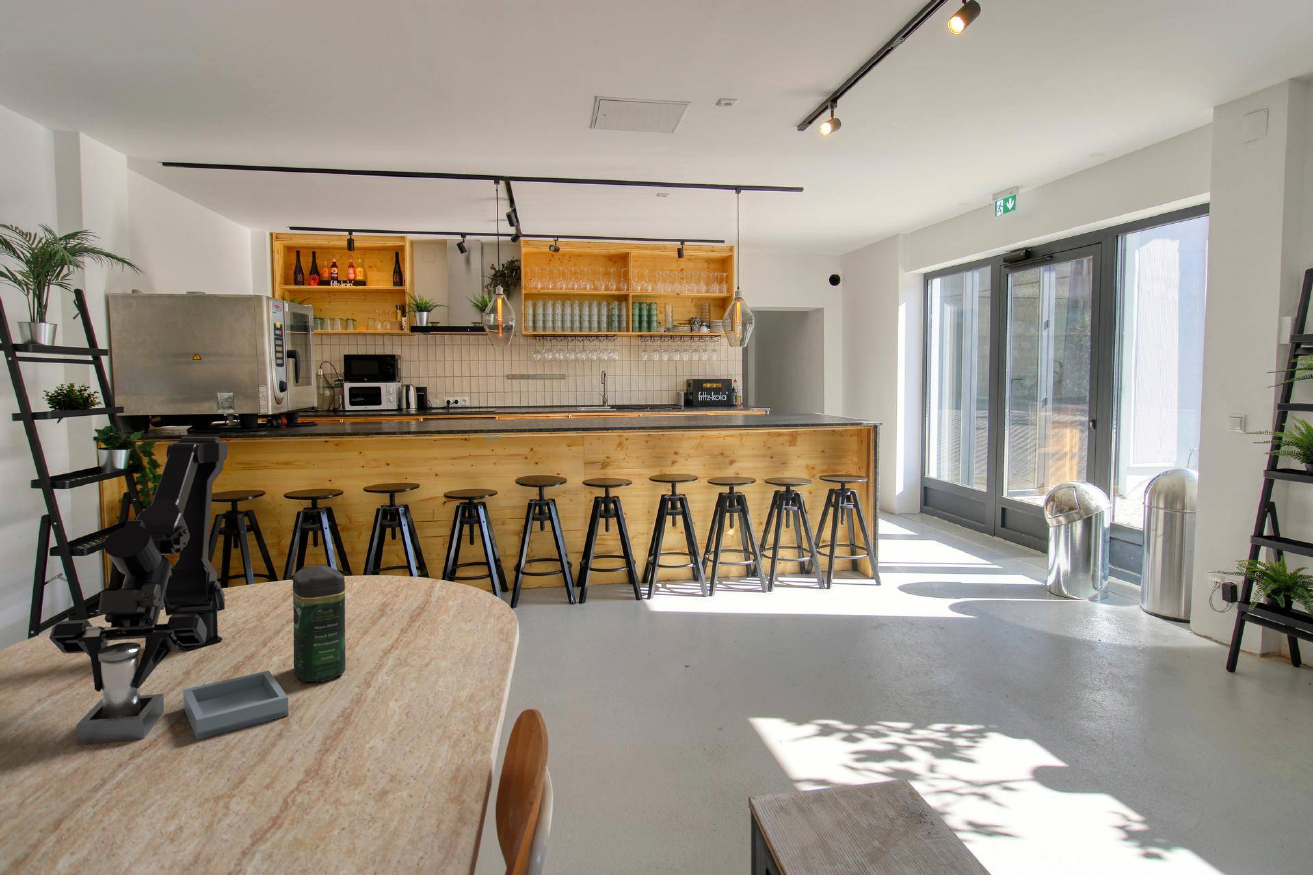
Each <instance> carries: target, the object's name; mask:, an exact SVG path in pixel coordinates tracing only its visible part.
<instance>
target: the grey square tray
mask: <svg viewBox="0 0 1313 875" xmlns="http://www.w3.org/2000/svg"><path fill="white" fill-rule="evenodd" d="M164 695H165V694H164V693H157V694H155V693H154V694H143V695H141V694H140V706H141V713H140V714H139V715H138V716H132V717H120V718H109V719H103V698H101V699H100V700H99V701H98V702H97V703H96V704H95V705H94V706H93V707H92V708H91V709H89V711H88V712H87V713H86V715H84V716H83V717H82V718H81V719H80V720H79V722H77V724H76V736H77V737H76V740H77V742H76V743H77V746H80V745H91V744H94V745H95V744H102V743H114V742H121V741H122V742H123V741H133V740H143V739H145V738H146V737H147V736H148V734H149V733H150V731H151V730H152V729H153V728H154V726H155V725H156V724H157V722H158V721H159V720H160V718H161V717H162V716H163V715H164V713H165V701H164V699H165V698H164V697H165V696H164ZM162 714H163V715H162Z"/></svg>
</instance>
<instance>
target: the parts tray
mask: <svg viewBox="0 0 1313 875" xmlns="http://www.w3.org/2000/svg"><path fill="white" fill-rule="evenodd" d="M182 690H183V692H182V693H183V698H182V699H183V709H184V711H185V714H186V716H187V719H188V722H189V725H190V727H191V729H192V731H193V734H194V737H195V739H196V740H197V741H199V740H203V739H206V738H210V737H213V736H218V735H222V734H225V733H229V732H234V731H237V730H241V729H244V728H248V727H252V726H253V727H254V726H256V725H259V724H258V723H260V724H264V723H266V721H268V722H270V720H272V721H274V720H273V719H275V720H278V719H277V718H279V719H282V718H281V717H283V718H285V717H284V716H287V717H289V696H288V695H287V694H286V692H285V691H284V690H283V688H282V687H281V685H280V684H279V683H278V681H277V680H276V679H275V677H274V676H273V675H272V672H271V671H270V670H265V671H260V672H256V673H251V674H247V675H246V674H245V675H242V676H239V677H234V678H229V679H225V680H220V681H216V682H211V683H207V684H203V685H197V686H194V687H190V688H184V689H182Z"/></svg>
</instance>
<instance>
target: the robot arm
mask: <svg viewBox="0 0 1313 875" xmlns="http://www.w3.org/2000/svg"><path fill="white" fill-rule="evenodd" d="M227 444H228V443H227V442H224V441H223V442H222V440H221V438H220V437H219V436H181V438H180V439H179V440H177V441H175V442H168V445H167V449H166V462H165V465H164V468H163V471H162V473H161V476H160V479H159V481H158V484H157V488H156V490H155V492H154V496H153V500H152V502H151V504H150V505H149V506H147V507H146V508H145V509H144V510H141V512H140V513H138V515H137V516H136V519H134V520H133V519H132V520H131V519H130V520H127V521H126V522H125V526H122V527H120V528H118V529H116V530H114V531H113V532H111V534H109V536H107V537H106V538H105V541H104V543H103V544H104V545H103V547H104V550H105V552H106V553H107V555H108V556H109V558H110V559H111V561H112V562H113V564H114V565H115V566H116V568H117V570H118V572H120V573H121V574H122V575H125V576H124V579H123V583H122V587H121V588H117V590H107V591H106V590H105V591H101V592H100V598H99V606H98V612H97V615H100V616H101V615H105V616H104V621H105V622H106V623H107V624H109V623H111V624H110V626H108V627H107V626H106V627H104V626H101V625H100V626H99V625H98V626H97V625H96V626H93V625H92V623H91V622H90V621H89V620H88V619H77V620H74V619H73V620H61V621H59V622H58V623H56V624H54V626H53V627H52V628H51V630H50V634H49V637H48V639H49V640H50V641H51V642H52V643H53V644H54V645H55V646H56V647H57V648H58V649H59V651H60V652H61V653H64V654H78V653H79V654H82V653H83V654H86V655H87V656H88V657H89V658H90V662H91V668H92V676H93V686H94V690H95V691H96V692H102V675H101V662H100V661H99V660H98V651H99V650H100V649H102V648H104V647H107V646H109V644H110V641H120V640H136V639H145V644H144V650H143V652H142V655H141V659H140V661H139V667H138V670H137V673H136V677H135V682H134V687H135V688H136V689H137V688H140V689H141V687H142V685H143V684H144V683H145V681H146V680H147V679H148V678H149V676H151V674H152V672H153V671H154V670H155V669H156V668H157V667H158V665H160V663H161V662H162V661H163V660H165V658H166V657H167V656H169V654H170V653H171V652H177V651H178V649H179V648H180V649H182V650H185V651H191V650H193V649H194V650H195V649H198V648H201V647H205V646H209V645H211V644H215V643H218V642H219V643H220V642H222V641H223V637H222V636H220V635H219V632H218V630H219V629H218V627H219V626H218V612H221V611H223V610H225V609H226V598H225V592H224V590H223V588H222V587H221V584H220V582H219V581H218V580H217V578H218V577H217V576H218V572H217V571H216V569H215V568H214V566H213V565H212V563H211V561H210V560H209V545H210V532H211V516H212V515H211V514H212V513H211V512H212V499H213V498H212V497H213V484H214V482H215V481H216V480H217V479H218V477H219V476H220V474H221V473H222V472H223V471H224V466H225V465H224V463H225V461H226V460H227V457H228V445H227ZM177 554H179V555H178V559H177V561H176V562H175V564H174V565H173V566H172V563H171V562H170V560H169V559H168V558H167V557H165V556H163V555H177ZM162 610H165V615H166V617H169V618H168V620H167V623H158V622H159V618H160V613H161V611H162Z"/></svg>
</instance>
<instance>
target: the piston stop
mask: <svg viewBox="0 0 1313 875" xmlns="http://www.w3.org/2000/svg"><path fill="white" fill-rule="evenodd" d="M141 646H142V645H141V644H140V643H138V642H133V641H132V642H131V641H129V642H128V641H127V642H119V643H113V644H111V645H108V646H107V647H104V648H102V649H100V650H99V651H98V660H99V661H100V662H101V675H102V689H101V693H102V695H101V696H102V698H101V699H103V719H109V718H120V717H132V716H138V715H139V714H140V713H141V706H140V696H141V687H140V688H137V689H136V688H135V687H134V682H135V677H136V673H137V670H138V667H139V664H140V661H139V660H140V659H139V655H141V653H142V647H141Z"/></svg>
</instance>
